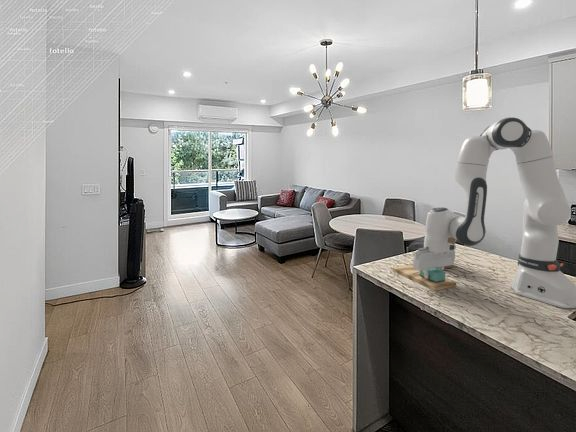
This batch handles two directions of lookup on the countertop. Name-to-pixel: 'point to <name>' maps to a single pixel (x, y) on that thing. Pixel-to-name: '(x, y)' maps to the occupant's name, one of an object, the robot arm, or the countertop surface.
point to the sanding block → (435, 275)
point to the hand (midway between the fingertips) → (432, 277)
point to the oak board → (422, 278)
